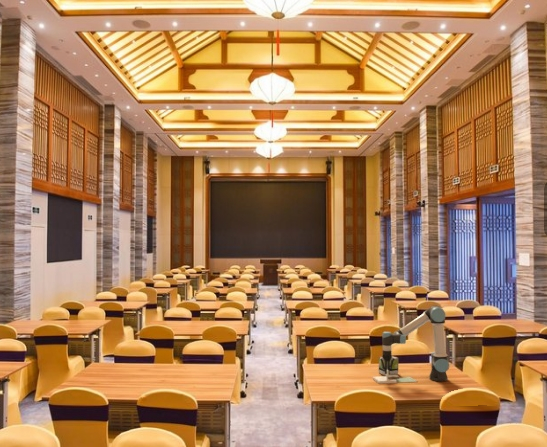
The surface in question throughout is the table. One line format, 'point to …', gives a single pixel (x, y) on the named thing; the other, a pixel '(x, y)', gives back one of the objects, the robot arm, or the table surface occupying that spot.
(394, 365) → the tea box
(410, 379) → the mat
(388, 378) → the name block
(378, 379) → the stand
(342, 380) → the table surface
